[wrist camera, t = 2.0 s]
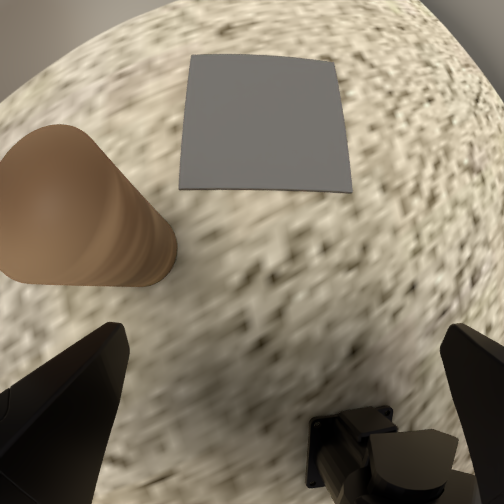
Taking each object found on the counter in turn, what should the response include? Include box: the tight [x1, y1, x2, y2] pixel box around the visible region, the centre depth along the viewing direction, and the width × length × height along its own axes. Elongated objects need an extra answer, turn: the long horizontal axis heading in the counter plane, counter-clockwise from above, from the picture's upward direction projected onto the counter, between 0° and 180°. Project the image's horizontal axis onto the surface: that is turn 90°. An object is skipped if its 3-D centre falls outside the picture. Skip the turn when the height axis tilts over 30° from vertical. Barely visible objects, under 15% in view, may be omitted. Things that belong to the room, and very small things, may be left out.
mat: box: [179, 54, 353, 193], centre depth 21 cm, size 12×12×1 cm
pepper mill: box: [0, 124, 177, 287], centre depth 14 cm, size 5×5×12 cm
